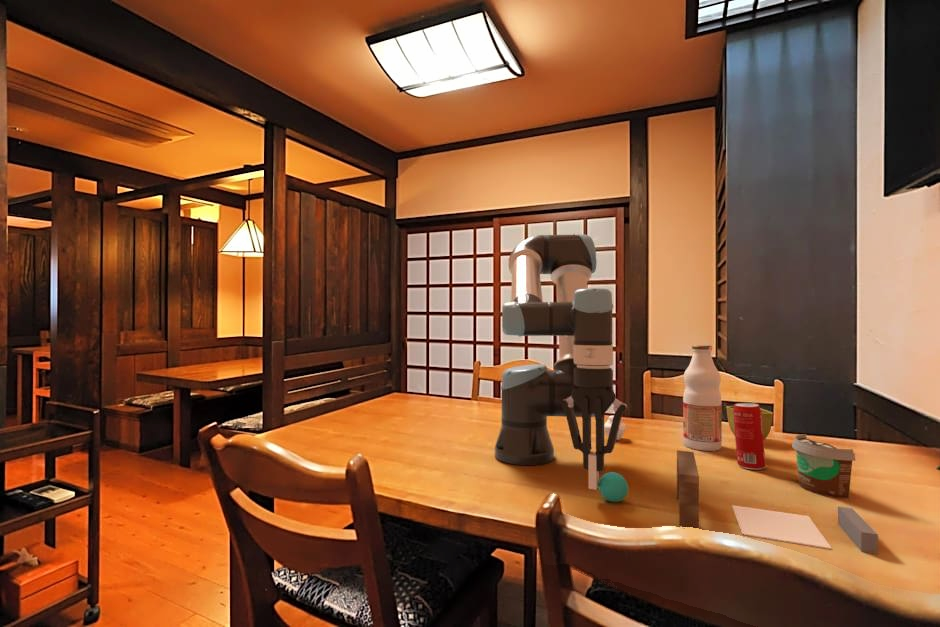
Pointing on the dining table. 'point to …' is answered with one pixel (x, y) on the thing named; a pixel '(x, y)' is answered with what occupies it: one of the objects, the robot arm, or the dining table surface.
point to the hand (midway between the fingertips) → (593, 486)
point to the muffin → (620, 431)
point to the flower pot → (766, 420)
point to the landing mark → (779, 526)
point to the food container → (823, 467)
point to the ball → (613, 487)
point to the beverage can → (749, 436)
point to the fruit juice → (702, 402)
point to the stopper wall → (858, 530)
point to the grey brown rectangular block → (687, 489)
